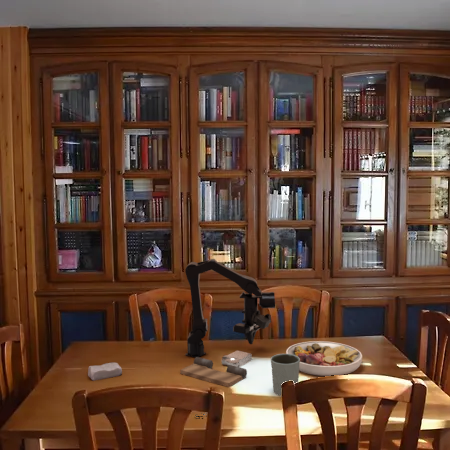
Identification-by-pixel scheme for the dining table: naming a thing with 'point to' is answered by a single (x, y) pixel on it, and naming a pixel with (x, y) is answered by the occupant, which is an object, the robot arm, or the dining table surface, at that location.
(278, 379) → the gray green cup
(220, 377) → the striped wooden board
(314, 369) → the bowl
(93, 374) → the stone block
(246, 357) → the pale pink block
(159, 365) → the dining table surface
